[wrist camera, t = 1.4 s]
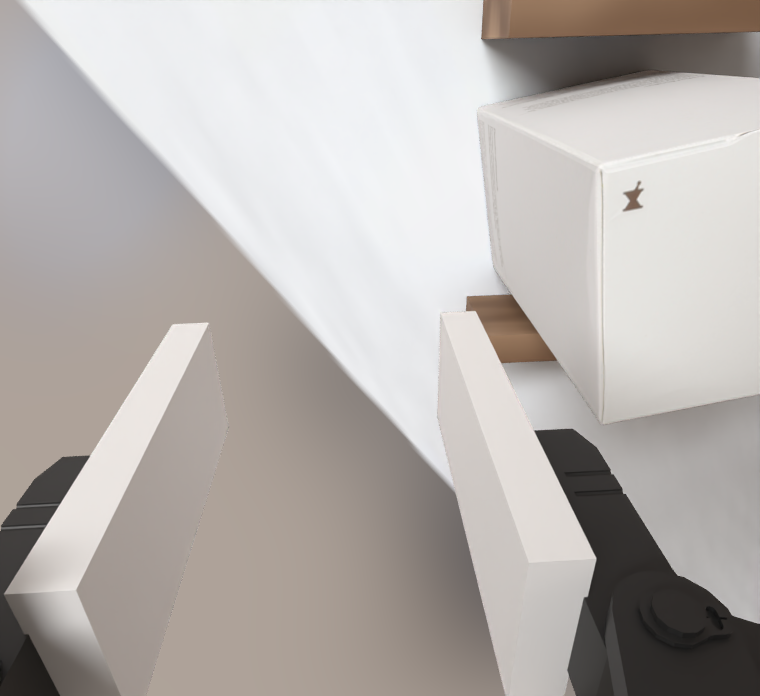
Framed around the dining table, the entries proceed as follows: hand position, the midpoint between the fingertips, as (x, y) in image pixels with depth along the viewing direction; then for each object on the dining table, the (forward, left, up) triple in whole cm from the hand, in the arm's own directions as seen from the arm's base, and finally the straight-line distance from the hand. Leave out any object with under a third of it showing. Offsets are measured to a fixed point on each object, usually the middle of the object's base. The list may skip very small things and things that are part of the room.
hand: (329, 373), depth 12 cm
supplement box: (0, +12, -19) cm, 23 cm away
